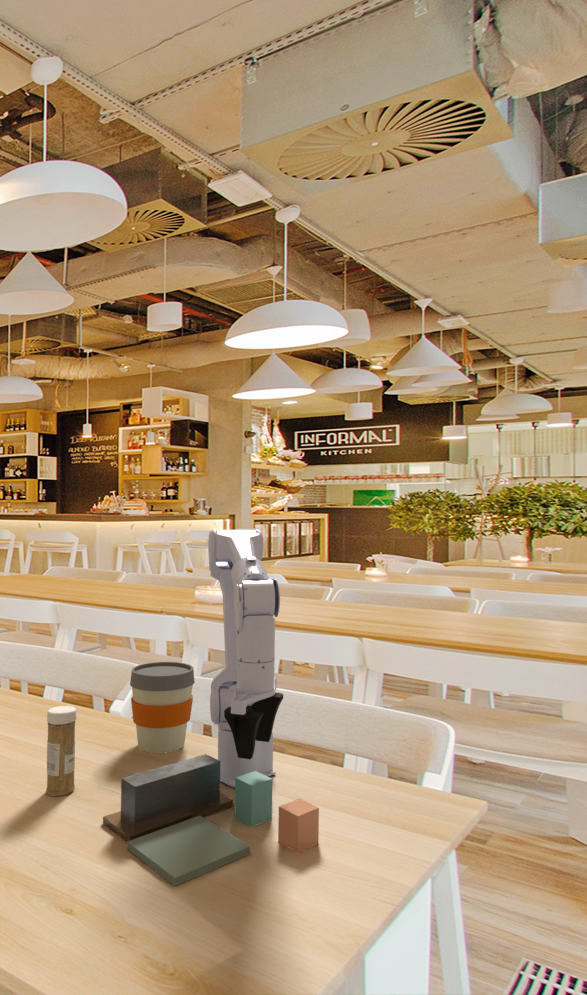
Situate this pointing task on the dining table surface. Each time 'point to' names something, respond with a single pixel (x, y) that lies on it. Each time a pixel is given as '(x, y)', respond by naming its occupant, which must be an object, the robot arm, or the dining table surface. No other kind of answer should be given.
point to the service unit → (168, 797)
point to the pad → (188, 849)
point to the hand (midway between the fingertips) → (254, 749)
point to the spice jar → (61, 750)
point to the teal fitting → (253, 798)
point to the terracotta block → (298, 825)
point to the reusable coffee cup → (161, 704)
